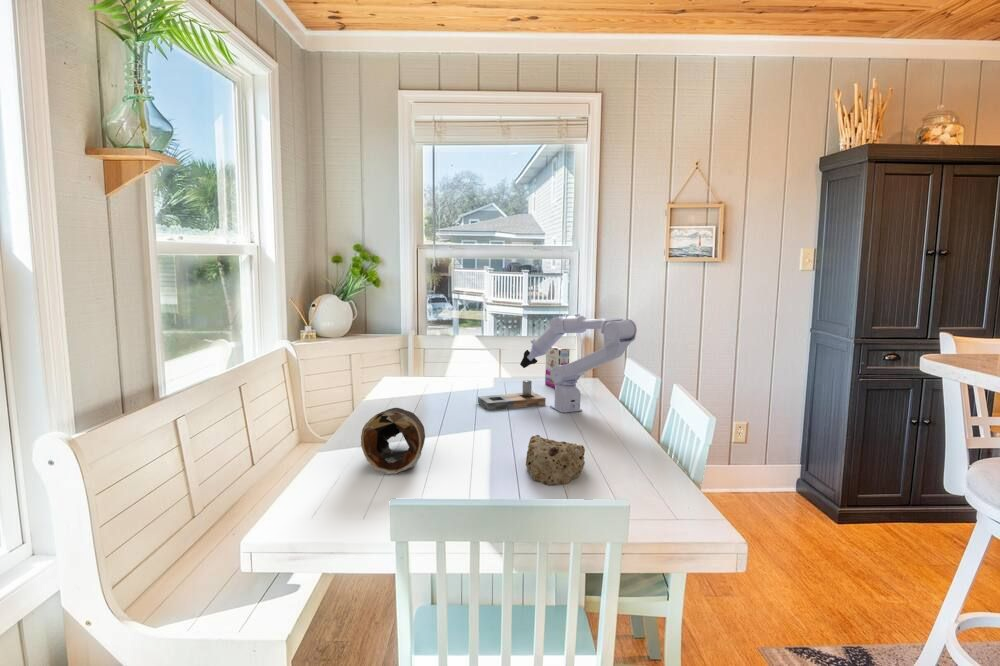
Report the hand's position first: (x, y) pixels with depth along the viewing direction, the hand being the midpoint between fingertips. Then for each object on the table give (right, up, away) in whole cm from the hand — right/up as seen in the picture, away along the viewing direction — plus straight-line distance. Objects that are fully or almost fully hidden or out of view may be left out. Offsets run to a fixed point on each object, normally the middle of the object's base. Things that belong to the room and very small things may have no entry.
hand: (527, 361), depth 221 cm
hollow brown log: (-37, -22, -66) cm, 78 cm away
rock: (+4, -24, -73) cm, 77 cm away
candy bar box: (+13, -12, +22) cm, 28 cm away
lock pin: (0, -15, -5) cm, 16 cm away
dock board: (-6, -15, -8) cm, 18 cm away
